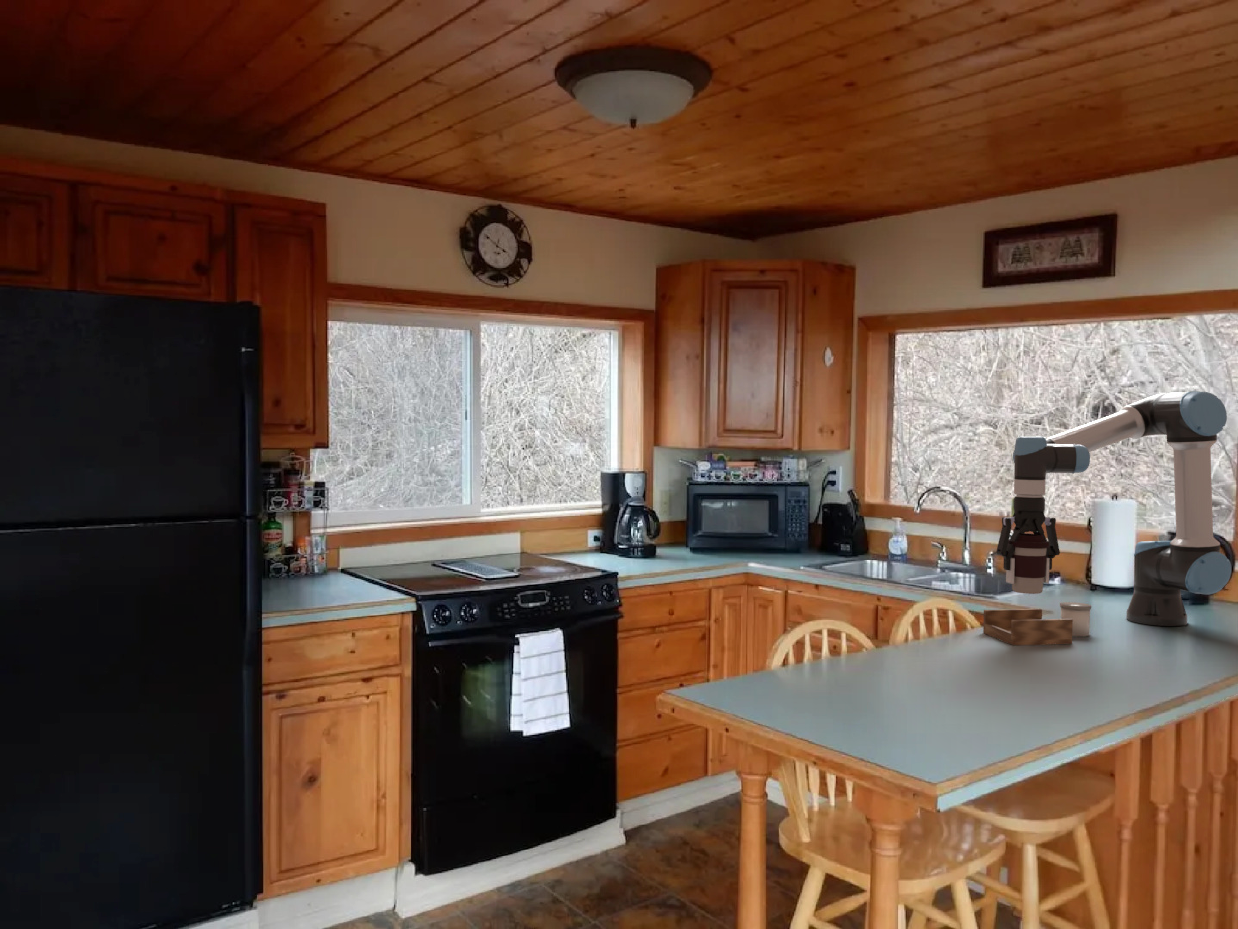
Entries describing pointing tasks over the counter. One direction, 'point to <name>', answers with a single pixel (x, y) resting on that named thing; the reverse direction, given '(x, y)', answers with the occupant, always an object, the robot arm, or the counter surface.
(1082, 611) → the sugar jar
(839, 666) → the counter surface
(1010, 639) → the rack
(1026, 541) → the coffee cup
